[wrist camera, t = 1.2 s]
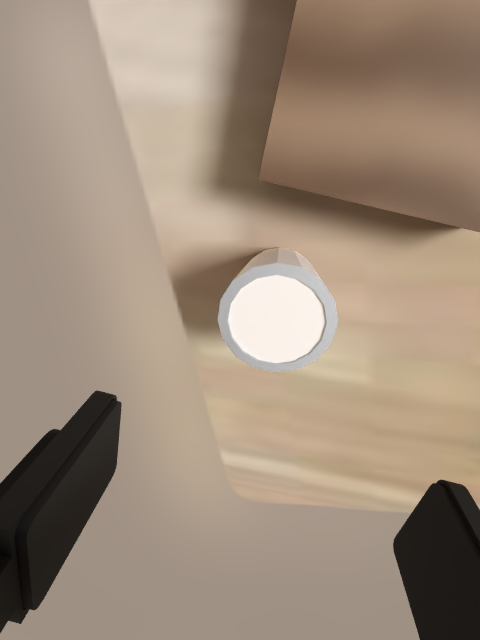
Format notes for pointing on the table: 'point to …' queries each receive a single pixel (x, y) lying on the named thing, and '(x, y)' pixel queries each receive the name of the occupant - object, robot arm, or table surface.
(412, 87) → the walnut block
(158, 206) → the table surface
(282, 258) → the shot glass
